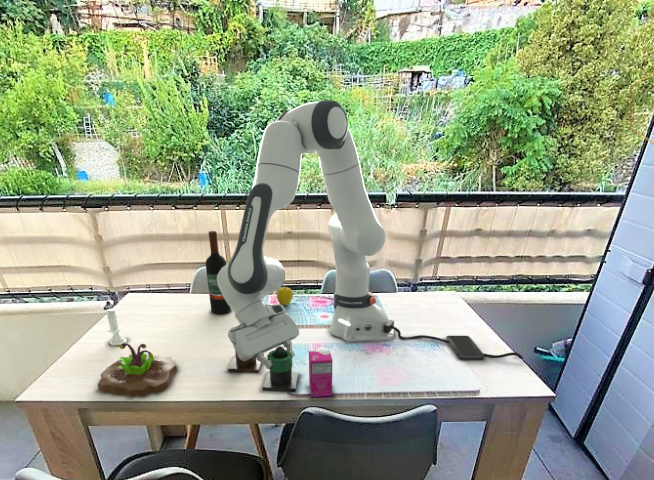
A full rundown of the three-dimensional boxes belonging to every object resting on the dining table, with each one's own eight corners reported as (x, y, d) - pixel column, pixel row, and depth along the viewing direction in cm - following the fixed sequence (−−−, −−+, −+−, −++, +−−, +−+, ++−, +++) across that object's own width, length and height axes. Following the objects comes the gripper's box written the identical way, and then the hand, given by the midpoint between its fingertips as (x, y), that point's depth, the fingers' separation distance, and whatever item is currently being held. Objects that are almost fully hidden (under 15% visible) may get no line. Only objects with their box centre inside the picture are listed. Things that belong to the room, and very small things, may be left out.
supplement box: (308, 387, 115) (308, 350, 109) (329, 386, 115) (330, 349, 110) (310, 398, 110) (310, 360, 104) (332, 397, 110) (334, 359, 105)
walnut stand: (263, 359, 129) (262, 325, 123) (258, 373, 121) (256, 338, 115) (235, 357, 130) (232, 324, 124) (228, 372, 122) (224, 336, 116)
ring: (280, 358, 118) (280, 347, 116) (296, 366, 114) (296, 354, 112) (263, 366, 114) (262, 355, 112) (279, 375, 110) (279, 363, 108)
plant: (120, 360, 128) (111, 327, 122) (183, 361, 127) (177, 328, 122) (88, 396, 111) (76, 359, 105) (161, 398, 110) (153, 361, 104)
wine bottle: (233, 308, 166) (225, 229, 151) (228, 315, 159) (219, 234, 144) (214, 307, 166) (205, 229, 151) (208, 314, 160) (198, 233, 145)
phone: (459, 356, 128) (445, 335, 141) (459, 359, 129) (445, 338, 142) (485, 356, 128) (468, 335, 141) (484, 359, 129) (468, 338, 142)
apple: (286, 308, 165) (286, 289, 161) (274, 305, 168) (273, 286, 164) (296, 304, 170) (295, 285, 166) (283, 301, 173) (282, 282, 169)
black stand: (298, 375, 120) (298, 340, 114) (295, 392, 113) (294, 355, 107) (268, 374, 121) (266, 338, 115) (262, 391, 113) (260, 353, 107)
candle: (120, 346, 136) (112, 311, 130) (106, 344, 137) (97, 310, 131) (130, 339, 141) (122, 305, 135) (115, 338, 142) (107, 304, 136)
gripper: (229, 324, 105) (257, 371, 104) (287, 303, 117) (312, 345, 117) (220, 335, 109) (247, 380, 109) (277, 314, 122) (301, 354, 122)
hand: (281, 362), depth 113 cm, fingers closed on ring, 6 cm apart
